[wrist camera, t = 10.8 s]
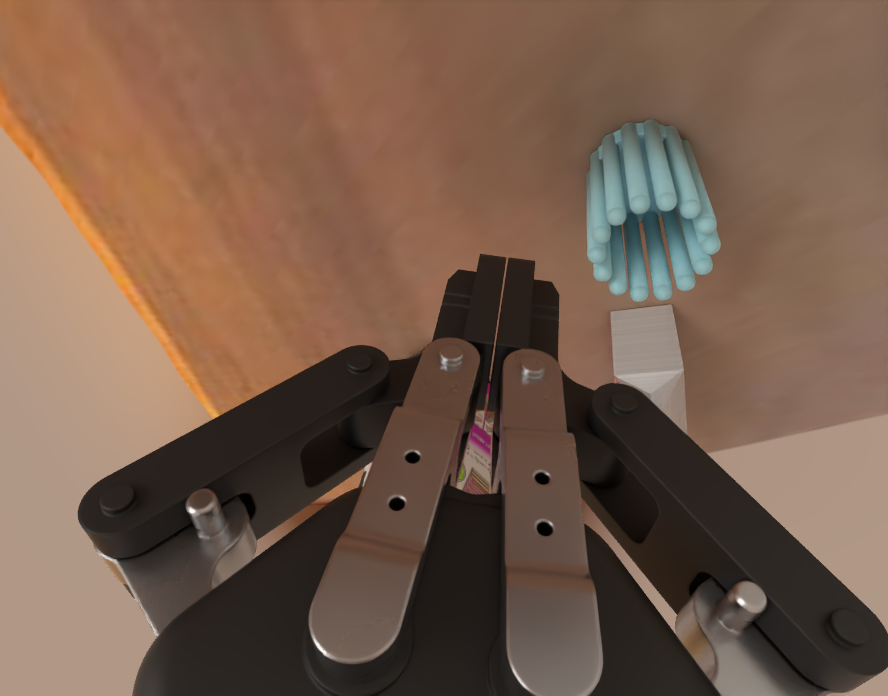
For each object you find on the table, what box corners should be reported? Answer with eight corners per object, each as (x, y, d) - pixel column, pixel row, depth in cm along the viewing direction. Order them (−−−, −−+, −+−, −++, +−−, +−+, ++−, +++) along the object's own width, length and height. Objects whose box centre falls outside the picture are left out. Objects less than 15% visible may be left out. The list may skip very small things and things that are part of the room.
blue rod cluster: (579, 298, 27) (698, 312, 26) (602, 190, 23) (740, 203, 23) (579, 209, 33) (675, 218, 32) (597, 112, 30) (706, 121, 29)
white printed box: (671, 304, 36) (694, 426, 29) (676, 381, 40) (697, 505, 33) (610, 311, 37) (617, 430, 30) (621, 386, 41) (629, 507, 34)
